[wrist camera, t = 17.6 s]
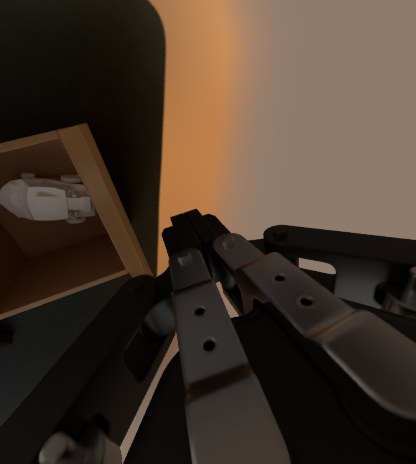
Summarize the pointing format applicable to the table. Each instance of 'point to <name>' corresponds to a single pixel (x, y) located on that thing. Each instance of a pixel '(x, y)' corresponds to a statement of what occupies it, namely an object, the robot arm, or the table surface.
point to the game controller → (5, 341)
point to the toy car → (47, 198)
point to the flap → (105, 196)
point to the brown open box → (49, 234)
